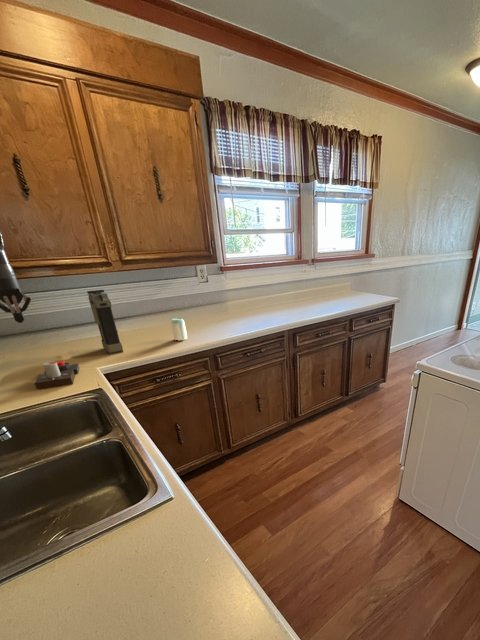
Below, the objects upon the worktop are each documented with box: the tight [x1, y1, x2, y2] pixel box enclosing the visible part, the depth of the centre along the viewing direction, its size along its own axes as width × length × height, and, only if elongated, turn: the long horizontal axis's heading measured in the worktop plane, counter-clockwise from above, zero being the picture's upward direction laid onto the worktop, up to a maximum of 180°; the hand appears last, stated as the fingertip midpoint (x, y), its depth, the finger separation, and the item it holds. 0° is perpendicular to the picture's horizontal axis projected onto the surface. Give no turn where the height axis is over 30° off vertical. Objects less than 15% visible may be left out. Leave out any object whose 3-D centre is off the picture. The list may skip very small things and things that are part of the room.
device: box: [86, 289, 124, 355], centre depth 165 cm, size 14×8×30 cm, turn 42°
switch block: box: [43, 361, 80, 375], centre depth 142 cm, size 12×8×4 cm, turn 118°
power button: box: [55, 360, 65, 367], centre depth 141 cm, size 4×4×2 cm
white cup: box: [42, 360, 61, 378], centre depth 131 cm, size 4×4×6 cm
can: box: [171, 317, 188, 342], centre depth 186 cm, size 7×7×12 cm
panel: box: [34, 370, 76, 391], centre depth 133 cm, size 12×10×3 cm
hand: (20, 322), depth 131 cm, fingers closed
